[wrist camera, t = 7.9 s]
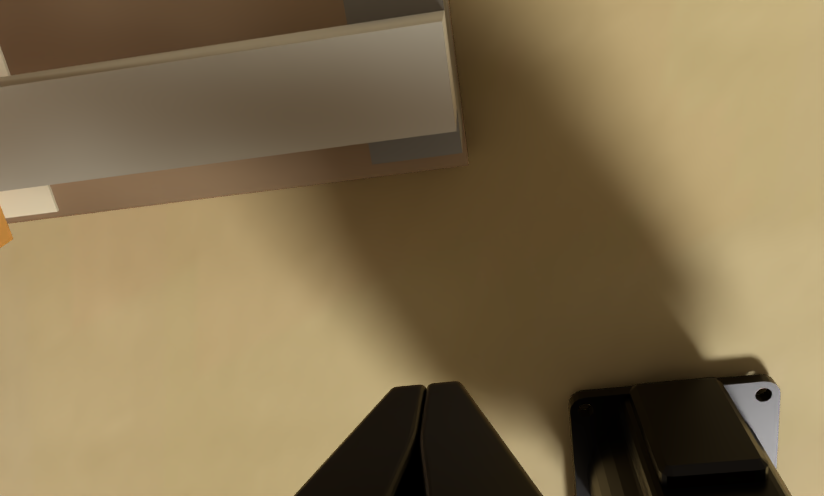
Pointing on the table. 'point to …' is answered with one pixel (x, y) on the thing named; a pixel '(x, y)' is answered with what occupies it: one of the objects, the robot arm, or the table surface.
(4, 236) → the collar
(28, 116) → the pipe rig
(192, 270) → the table surface
